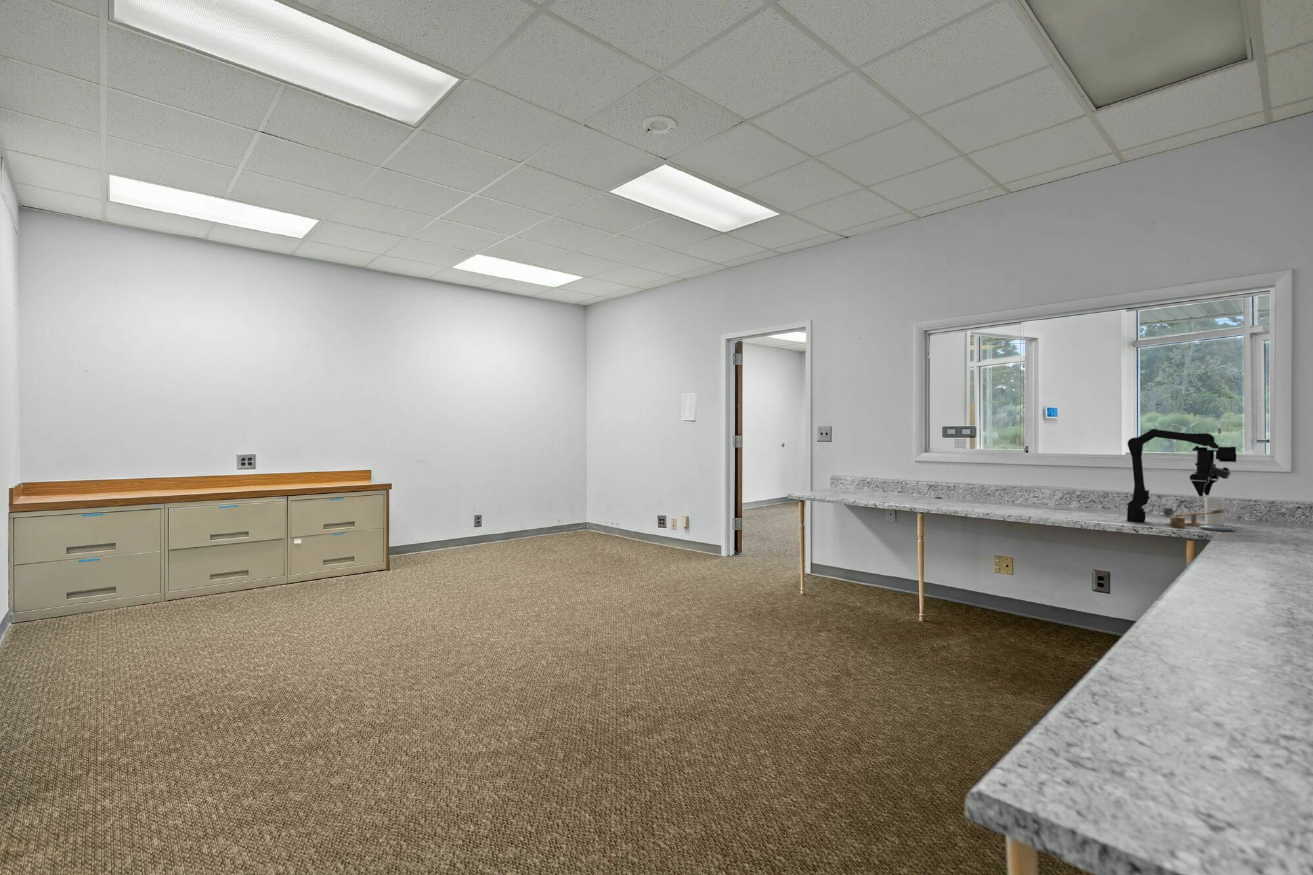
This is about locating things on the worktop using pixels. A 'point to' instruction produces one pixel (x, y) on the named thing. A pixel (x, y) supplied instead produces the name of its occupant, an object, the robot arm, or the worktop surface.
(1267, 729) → the worktop surface
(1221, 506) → the mug
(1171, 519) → the block
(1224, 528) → the dish
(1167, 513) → the balance
